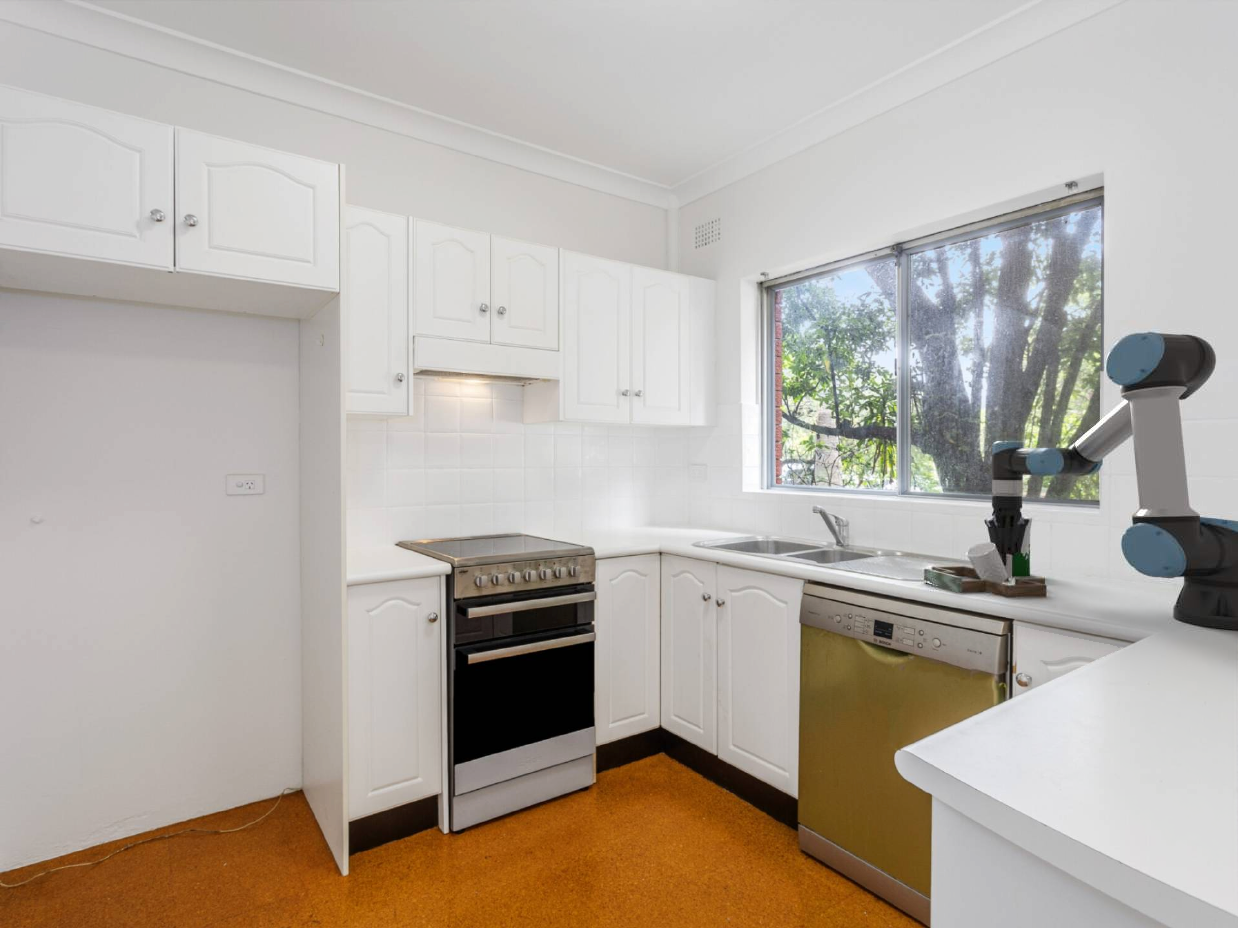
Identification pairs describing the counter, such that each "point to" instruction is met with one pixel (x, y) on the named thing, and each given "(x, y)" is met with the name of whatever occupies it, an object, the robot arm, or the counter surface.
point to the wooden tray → (982, 582)
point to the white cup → (987, 562)
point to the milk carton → (1023, 555)
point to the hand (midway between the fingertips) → (1006, 576)
